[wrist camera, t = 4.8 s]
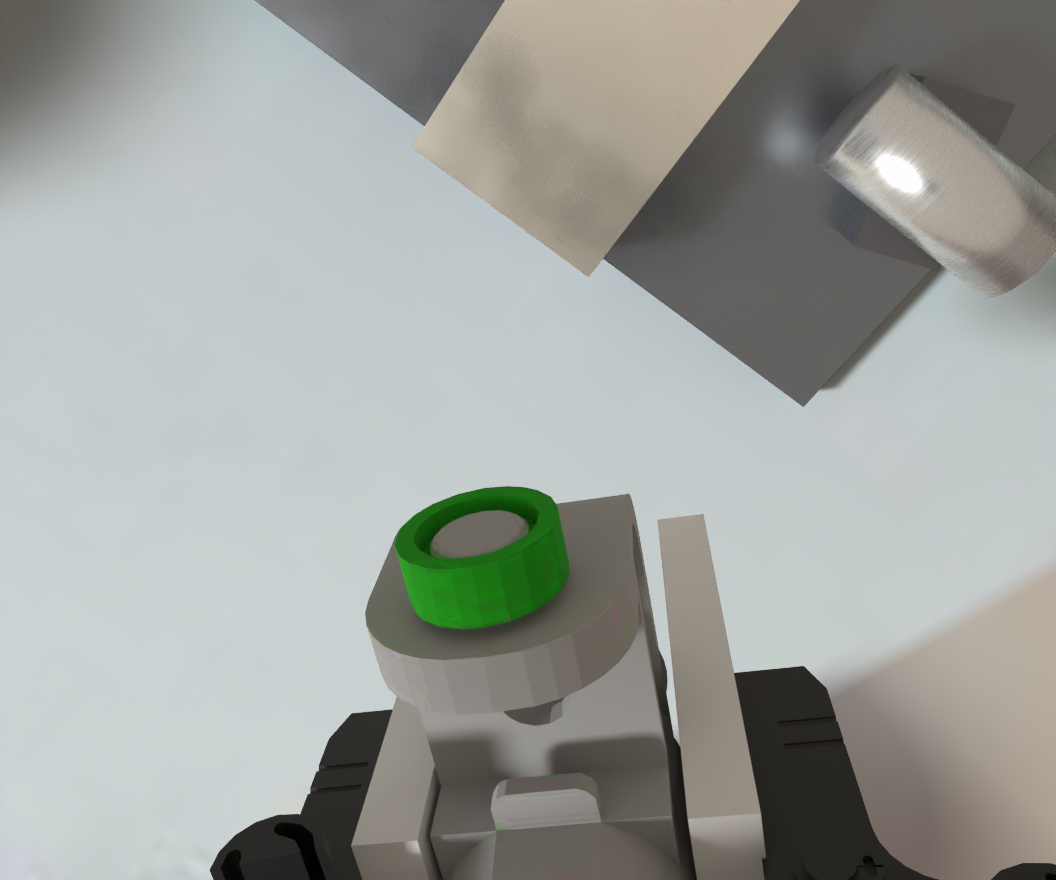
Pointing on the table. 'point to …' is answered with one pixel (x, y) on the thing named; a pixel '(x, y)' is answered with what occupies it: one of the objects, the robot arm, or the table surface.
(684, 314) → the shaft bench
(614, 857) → the mechanical component
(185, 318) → the table surface
